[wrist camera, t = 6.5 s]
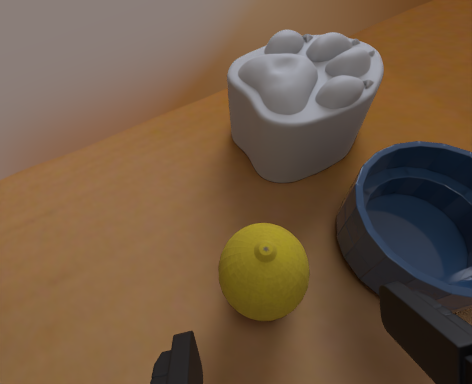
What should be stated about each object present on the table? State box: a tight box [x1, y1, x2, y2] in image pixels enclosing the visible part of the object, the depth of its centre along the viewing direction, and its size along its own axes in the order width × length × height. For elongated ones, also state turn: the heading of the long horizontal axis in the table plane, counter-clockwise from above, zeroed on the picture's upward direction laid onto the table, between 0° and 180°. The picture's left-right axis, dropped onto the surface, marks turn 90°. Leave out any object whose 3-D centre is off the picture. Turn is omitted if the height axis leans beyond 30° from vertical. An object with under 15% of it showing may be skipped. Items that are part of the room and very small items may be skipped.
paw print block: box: [227, 30, 383, 183], centre depth 25 cm, size 10×13×9 cm
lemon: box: [219, 223, 309, 321], centre depth 17 cm, size 6×6×8 cm
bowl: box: [337, 141, 472, 312], centre depth 20 cm, size 11×11×6 cm
